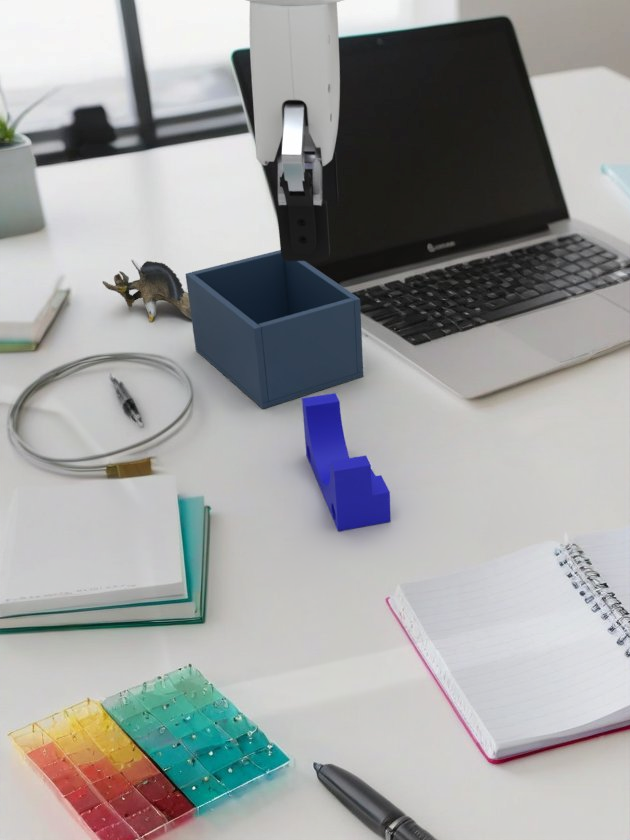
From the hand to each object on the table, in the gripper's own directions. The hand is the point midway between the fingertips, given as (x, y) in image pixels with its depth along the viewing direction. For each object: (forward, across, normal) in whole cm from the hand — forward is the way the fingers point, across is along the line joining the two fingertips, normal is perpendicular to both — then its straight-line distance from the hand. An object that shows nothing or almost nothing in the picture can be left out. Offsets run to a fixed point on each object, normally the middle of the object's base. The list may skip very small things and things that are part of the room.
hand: (311, 230), depth 81 cm
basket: (+26, -28, -7) cm, 38 cm away
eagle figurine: (+26, -39, -21) cm, 51 cm away
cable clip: (+26, -5, +1) cm, 26 cm away
